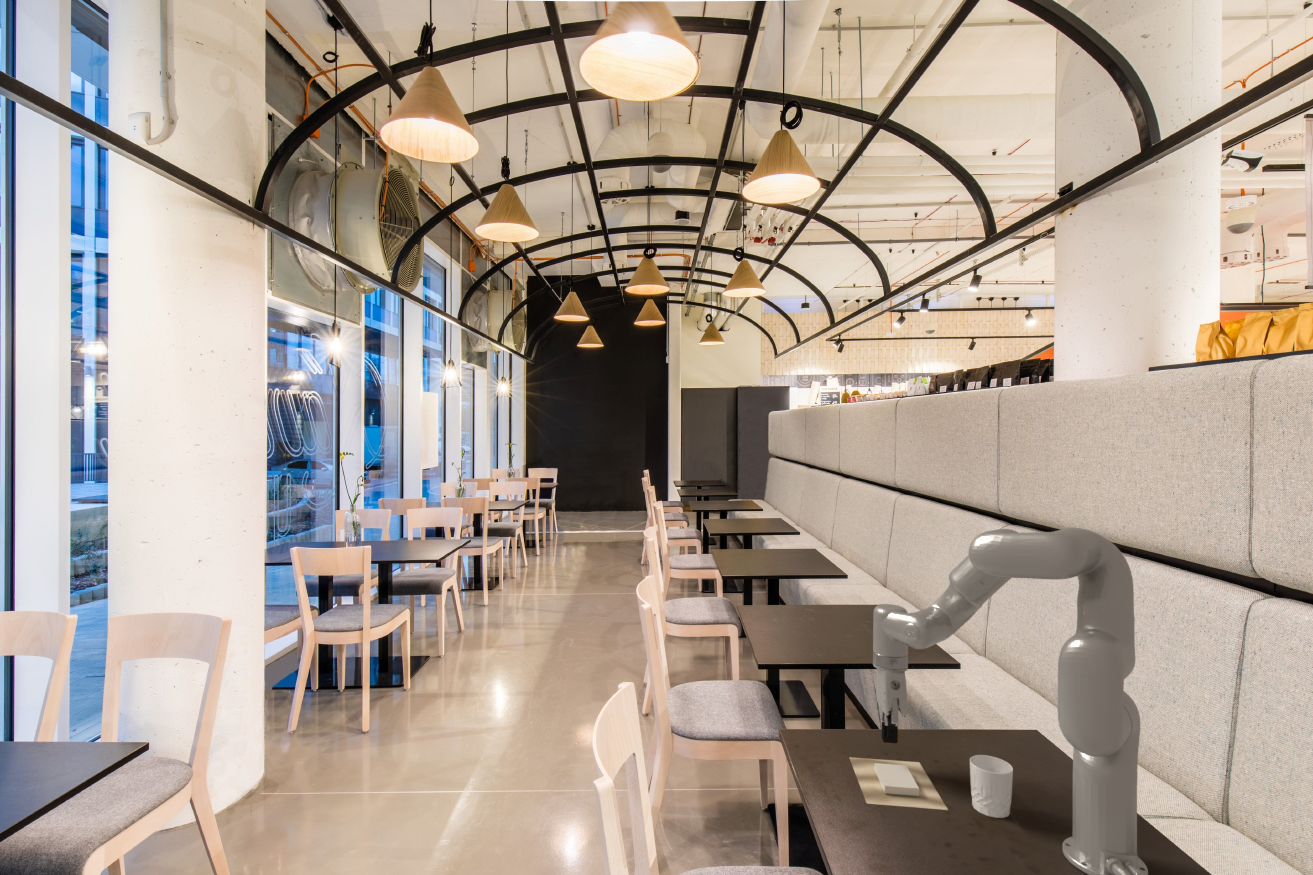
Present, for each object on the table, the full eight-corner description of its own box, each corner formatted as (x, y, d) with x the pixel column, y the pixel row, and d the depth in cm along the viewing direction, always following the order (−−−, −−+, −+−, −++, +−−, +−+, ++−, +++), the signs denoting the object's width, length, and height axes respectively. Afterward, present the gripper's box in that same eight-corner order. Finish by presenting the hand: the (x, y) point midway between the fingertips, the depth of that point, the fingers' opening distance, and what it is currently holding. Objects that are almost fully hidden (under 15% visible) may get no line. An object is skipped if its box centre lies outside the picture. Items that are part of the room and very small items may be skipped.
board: (947, 814, 129) (948, 809, 129) (866, 808, 131) (866, 803, 131) (919, 766, 149) (919, 762, 149) (849, 761, 151) (849, 757, 151)
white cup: (1018, 826, 126) (1018, 775, 126) (975, 821, 127) (975, 770, 127) (1005, 805, 133) (1005, 756, 134) (964, 800, 135) (965, 752, 135)
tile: (906, 773, 144) (919, 797, 134) (874, 770, 145) (884, 794, 135) (906, 765, 144) (919, 788, 134) (874, 762, 145) (884, 785, 135)
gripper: (916, 672, 138) (915, 758, 138) (898, 651, 153) (898, 728, 152) (880, 670, 139) (880, 755, 138) (866, 649, 154) (865, 726, 153)
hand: (889, 740), depth 145 cm, fingers closed
